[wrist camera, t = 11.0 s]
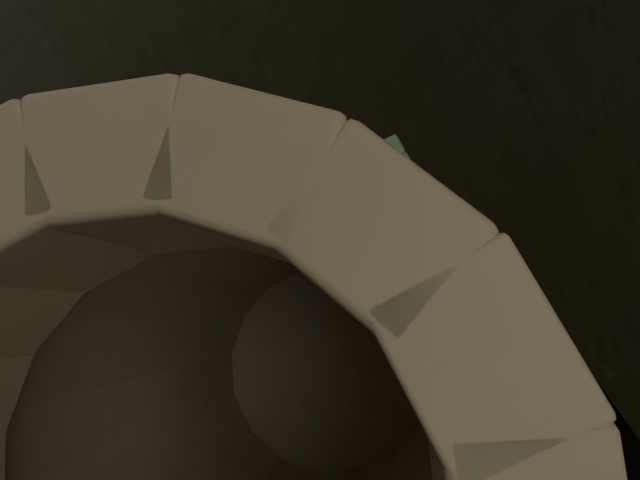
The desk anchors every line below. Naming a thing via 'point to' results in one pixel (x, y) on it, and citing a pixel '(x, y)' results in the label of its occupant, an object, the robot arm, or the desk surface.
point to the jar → (265, 303)
